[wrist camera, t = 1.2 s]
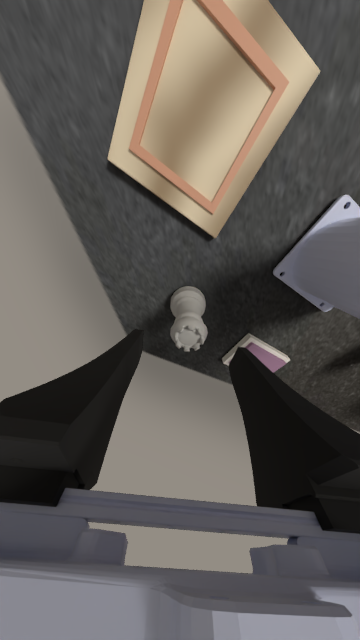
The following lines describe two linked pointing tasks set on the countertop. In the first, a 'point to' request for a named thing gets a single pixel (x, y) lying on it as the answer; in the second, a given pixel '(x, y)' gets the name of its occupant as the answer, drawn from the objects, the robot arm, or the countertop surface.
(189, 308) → the rook chess piece
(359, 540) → the robot arm
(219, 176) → the marked board
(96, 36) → the countertop surface
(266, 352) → the ink pad
